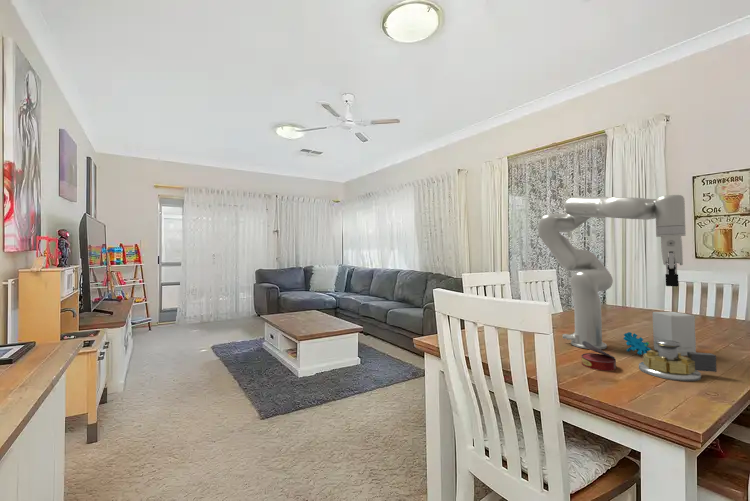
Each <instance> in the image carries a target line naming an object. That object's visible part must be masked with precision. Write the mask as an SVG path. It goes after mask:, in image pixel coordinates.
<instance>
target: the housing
mask: <svg viewBox="0 0 750 501" xmlns="http://www.w3.org/2000/svg"><path fill="white" fill-rule="evenodd" d="M656 344H658V351H657V353H658V356H661V357H666V360H667V361H678V347H680V343H679V342H676V341H671V340H656ZM638 369H639V371H640V372H642V373H644V374H647V375H649V376H652V377H656V378H660V379H665V380H668V381H669V380H670V381H676V382H677V381H678V382H698V381H701V379H702V373H701V371H697V370H695V372H693V373H690V374H687V373H686V374H678V373H669V372H663V371H659V370H655V369H651V368H649V367H647V366H646V365H645V364H644V361H641V362H639V363H638Z"/></svg>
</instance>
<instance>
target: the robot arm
mask: <svg viewBox="0 0 750 501" xmlns="http://www.w3.org/2000/svg"><path fill="white" fill-rule="evenodd" d="M685 202H686V201H685V197H684V195H682V194H669V195H668V194H667V195H662V196H659V197H657V198H644V197H617V196H615V197H613V196H612V197H611V196H610V197H609V196H572V197H570V198H568V199H566V200H565V202H564V204H563V210H564V212H565V213H547V214H545V215H543V216H542V217H541V218H539V219H540V220H539V222H538V225H537V232H538V235H539V238H540V240H541V241H542V243H544V245H545V246H546V247H547V248H548V249H549V251H550V252H551V254H552V255H553V257H554V258H555V259H556V261H557V262H558V263H559V265H560V266H561V267H562V268H563V270H565V271H568V272H575V273H573V275H572V276H571V279H570V285H571V290H572V294H573V295H572V296H573V308H574V309H573V311H574V332H573V333H571V334H568V333H562V339H564V340H565V339H566V340H567V341H568V340H569V341H570V344H571V345H572V346H574V347H577V348H581V349H585V350H586V349H587V350H589V349H588V348H586V347H585V346H584V345H583V344H582V342H583V341H586V342H588V343H590V344H592V345H593V346H595V347H597V348H598V349H600V350H606V349H607V347H608V346H607V343H605V342H603V329H602V328H603V324H602V323H603V322H602V301H601V298H600V295H599V293H598V292H603V291H607V290H609V289H611V287H612V286H613V283H614V281H613V276H612V274H611V273H610V271H609V270H608V269H607V268H606V266H605V265H604V264H603V263H602V262H601V260H600V259H599V258H598V257H597V256H596V254H594V252H592V251H590V250H587V249H577V248H576V247H575V246H574V245H573V244H572V243H571V242H570V241H569V239H567V237H565V236H564V235H563V234H561V233H571V232H573V231H575V230H576V229H577V228H579V227H580V226H582V225H583V224H584V223H586V222H587V221H588V220H590V219H591V218H598V219H605V218H610V219H611V218H613V219H630V220H644V221H645V220H646V221H648V220H654V219H655V236H656V238H658V237H660V250H661V259H662V263H663V264H662V265H664V266H665V270H666V272H665V287H679V273H678V264H679V266H683V264H684V263H683V260H684V259H683V257H684V255H683V239H682V237H685V236H686V235H687V234H686V206H685V205H686V204H685Z"/></svg>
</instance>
